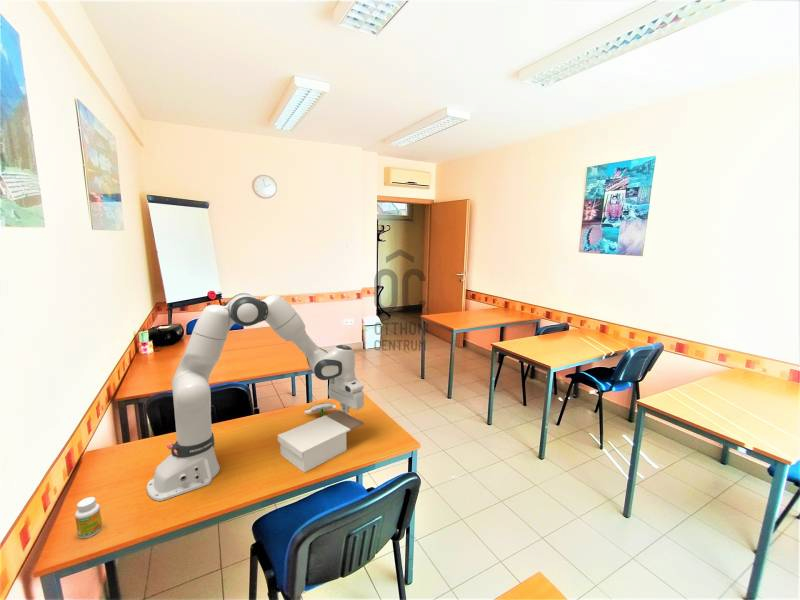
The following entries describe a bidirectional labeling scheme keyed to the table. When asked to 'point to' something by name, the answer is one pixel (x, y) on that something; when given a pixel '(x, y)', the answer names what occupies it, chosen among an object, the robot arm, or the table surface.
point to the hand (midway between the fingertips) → (345, 412)
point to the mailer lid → (318, 432)
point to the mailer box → (316, 453)
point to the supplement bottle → (88, 518)
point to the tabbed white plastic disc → (320, 408)
